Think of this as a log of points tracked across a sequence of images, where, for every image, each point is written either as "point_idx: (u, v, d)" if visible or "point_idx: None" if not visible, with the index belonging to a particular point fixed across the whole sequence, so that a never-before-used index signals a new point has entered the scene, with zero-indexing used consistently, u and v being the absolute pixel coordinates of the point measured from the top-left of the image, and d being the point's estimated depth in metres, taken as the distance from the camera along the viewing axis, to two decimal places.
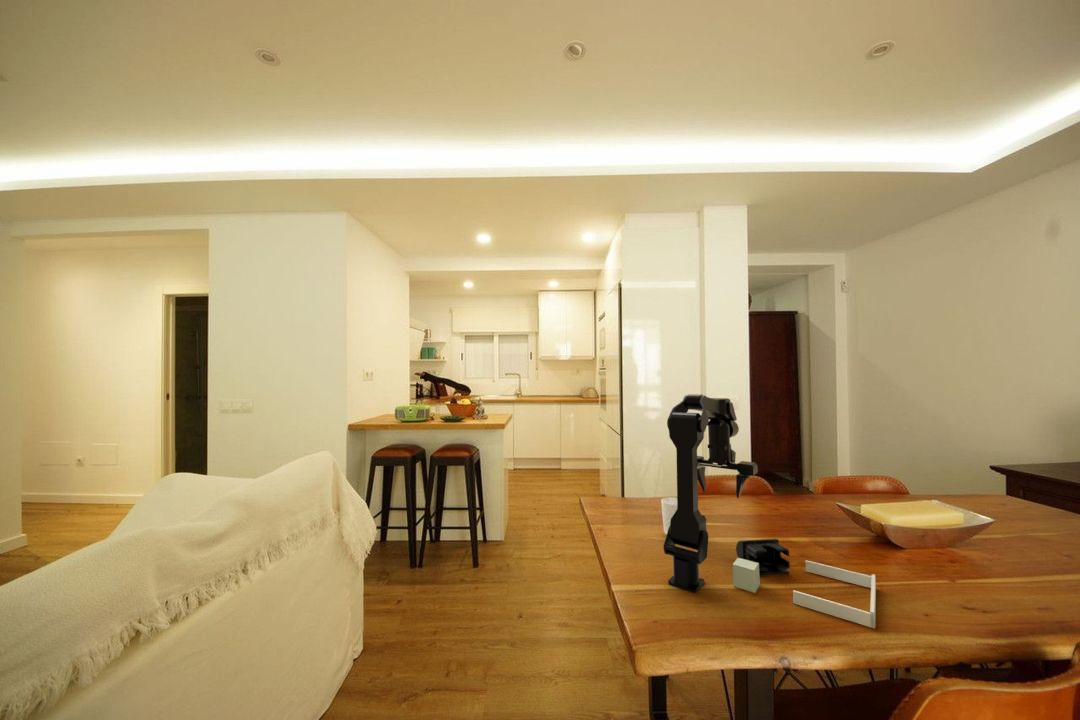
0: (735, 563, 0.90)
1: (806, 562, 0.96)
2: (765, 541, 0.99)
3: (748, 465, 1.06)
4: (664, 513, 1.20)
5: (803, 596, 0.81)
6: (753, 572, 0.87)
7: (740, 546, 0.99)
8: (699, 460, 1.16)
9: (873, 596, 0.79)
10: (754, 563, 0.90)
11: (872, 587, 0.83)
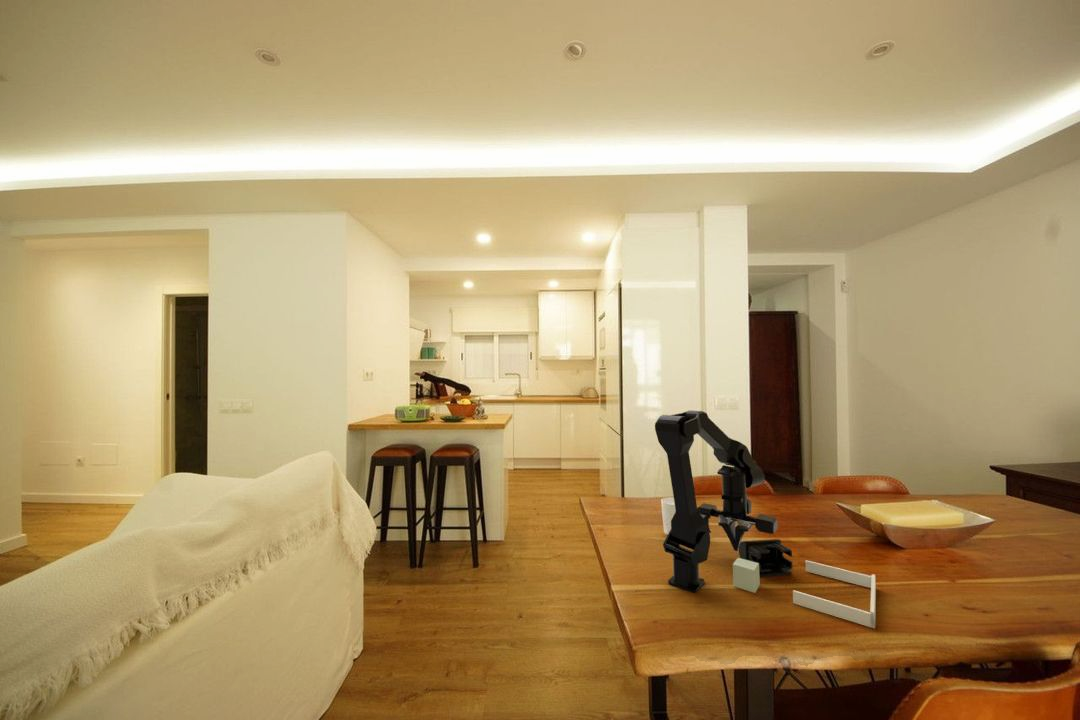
0: (735, 563, 0.90)
1: (806, 562, 0.96)
2: (767, 541, 0.98)
3: (768, 521, 0.96)
4: (664, 513, 1.20)
5: (803, 596, 0.81)
6: (753, 572, 0.87)
7: (742, 547, 0.99)
8: (712, 511, 1.06)
9: (873, 596, 0.79)
10: (754, 563, 0.90)
11: (872, 587, 0.83)
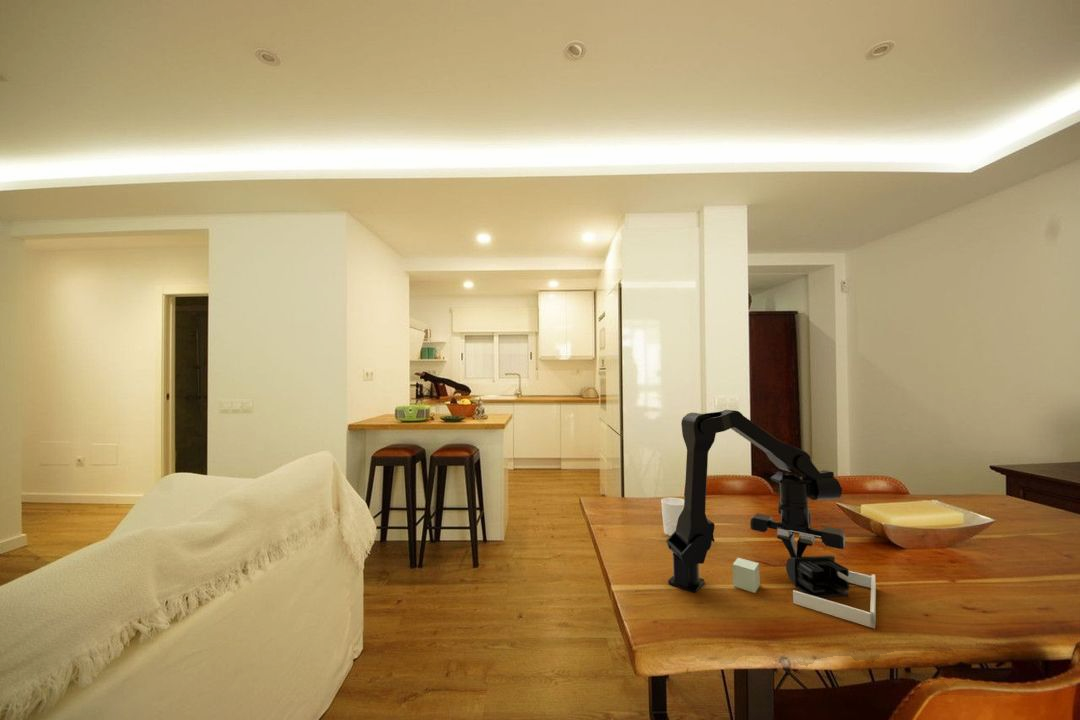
0: (735, 563, 0.90)
1: None
2: (819, 558, 0.89)
3: (836, 535, 0.87)
4: (664, 513, 1.20)
5: (803, 596, 0.81)
6: (753, 572, 0.87)
7: (791, 563, 0.89)
8: (768, 522, 0.97)
9: (873, 596, 0.79)
10: (754, 563, 0.90)
11: (872, 587, 0.83)
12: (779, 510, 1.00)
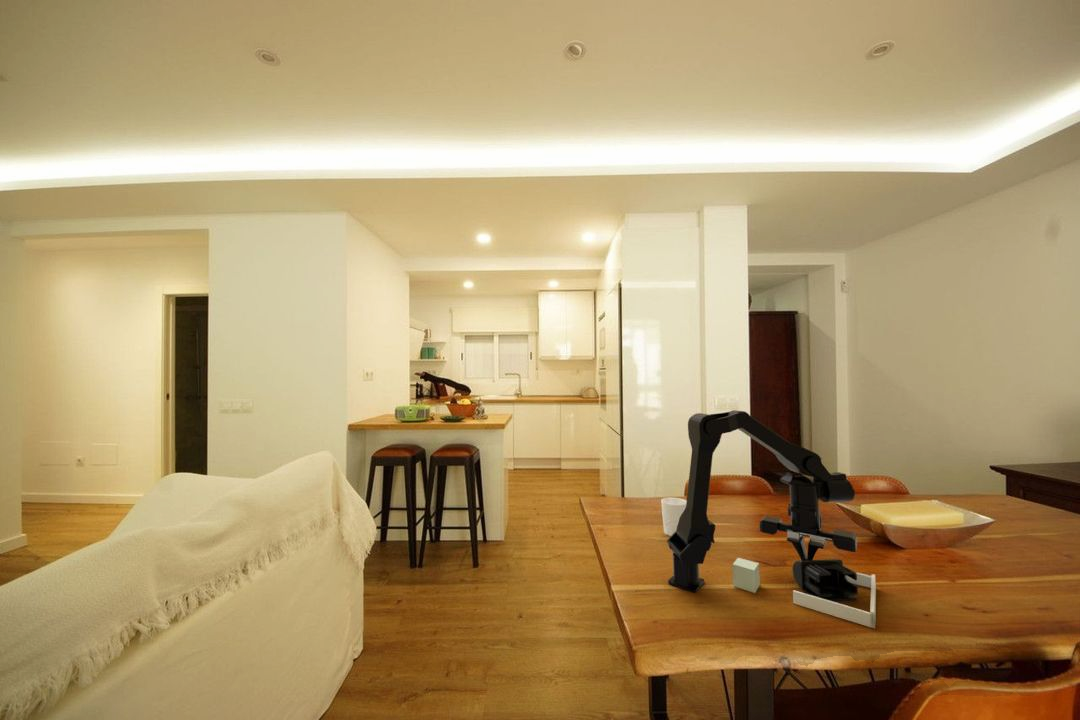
0: (735, 563, 0.90)
1: None
2: (827, 562, 0.87)
3: (848, 538, 0.85)
4: (664, 513, 1.20)
5: (803, 596, 0.81)
6: (753, 572, 0.87)
7: (797, 567, 0.88)
8: (778, 524, 0.95)
9: (873, 596, 0.79)
10: (754, 563, 0.90)
11: (872, 587, 0.83)
12: (789, 512, 0.99)
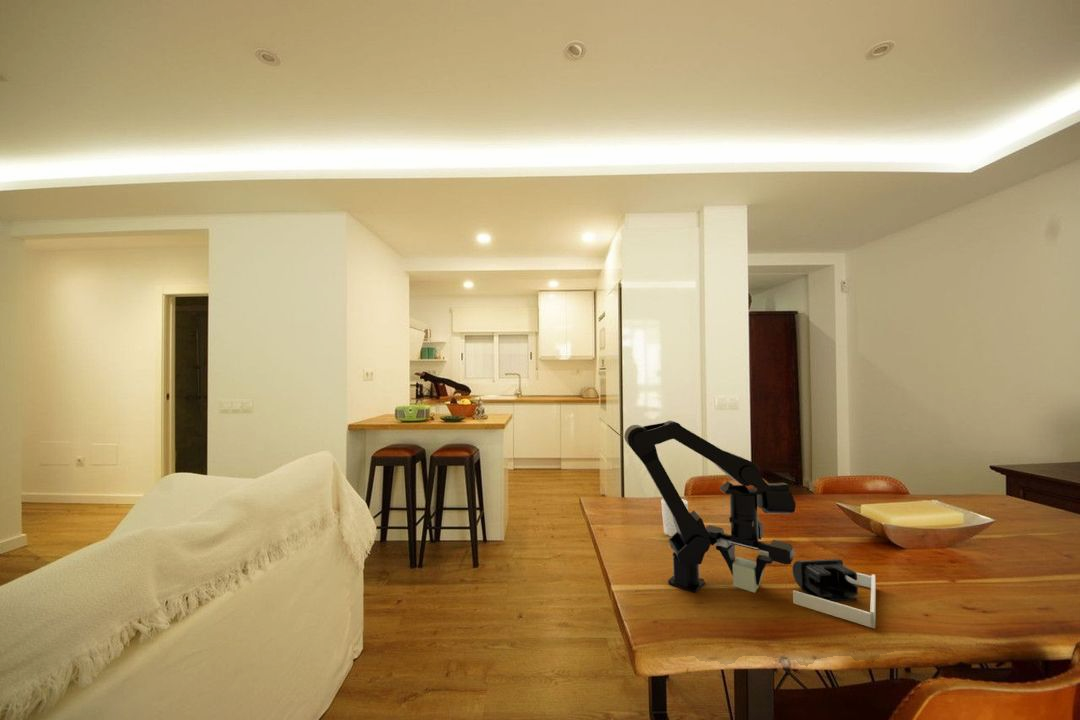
0: (735, 563, 0.90)
1: None
2: (827, 562, 0.87)
3: (783, 550, 0.83)
4: (664, 513, 1.20)
5: (803, 596, 0.81)
6: (753, 572, 0.87)
7: (797, 567, 0.88)
8: (718, 535, 0.93)
9: (873, 596, 0.79)
10: (754, 563, 0.90)
11: (872, 587, 0.83)
12: None
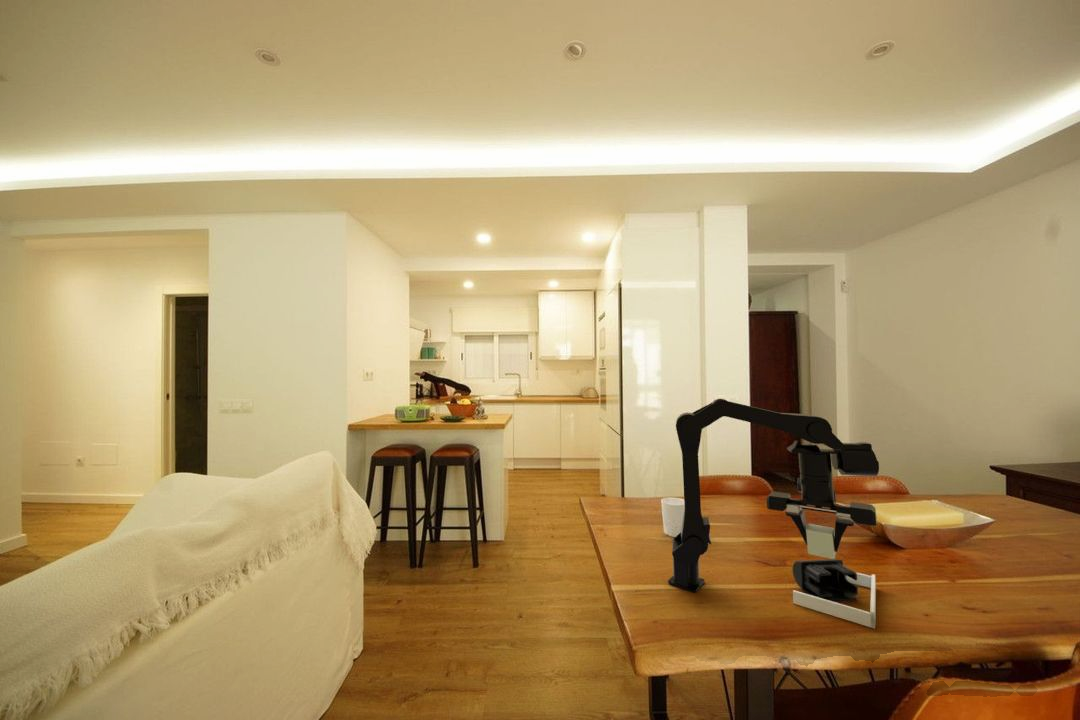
0: (808, 528, 0.83)
1: None
2: (827, 562, 0.87)
3: (867, 510, 0.76)
4: (664, 513, 1.20)
5: (803, 596, 0.81)
6: (831, 536, 0.80)
7: (797, 567, 0.88)
8: (787, 500, 0.86)
9: (873, 596, 0.79)
10: (829, 528, 0.83)
11: (872, 587, 0.83)
12: (798, 487, 0.89)
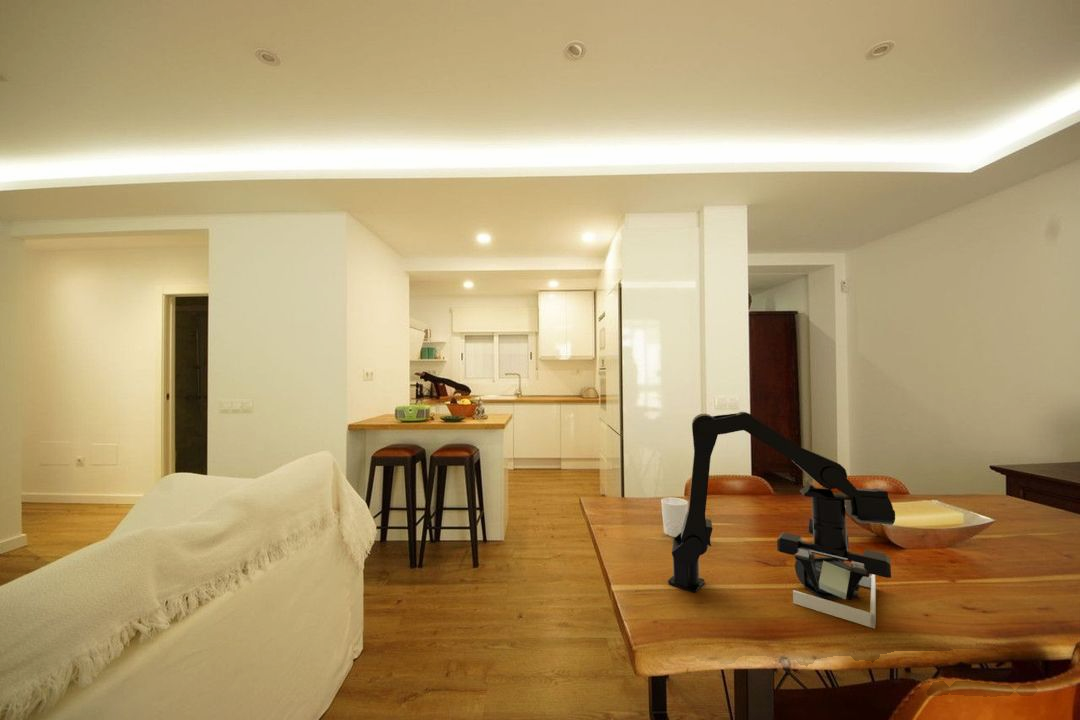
0: (822, 578, 0.80)
1: None
2: (829, 559, 0.89)
3: (882, 561, 0.74)
4: (664, 513, 1.20)
5: (803, 596, 0.81)
6: (845, 593, 0.77)
7: (799, 564, 0.89)
8: (798, 543, 0.84)
9: (873, 596, 0.79)
10: (845, 573, 0.78)
11: (872, 587, 0.83)
12: (810, 529, 0.87)
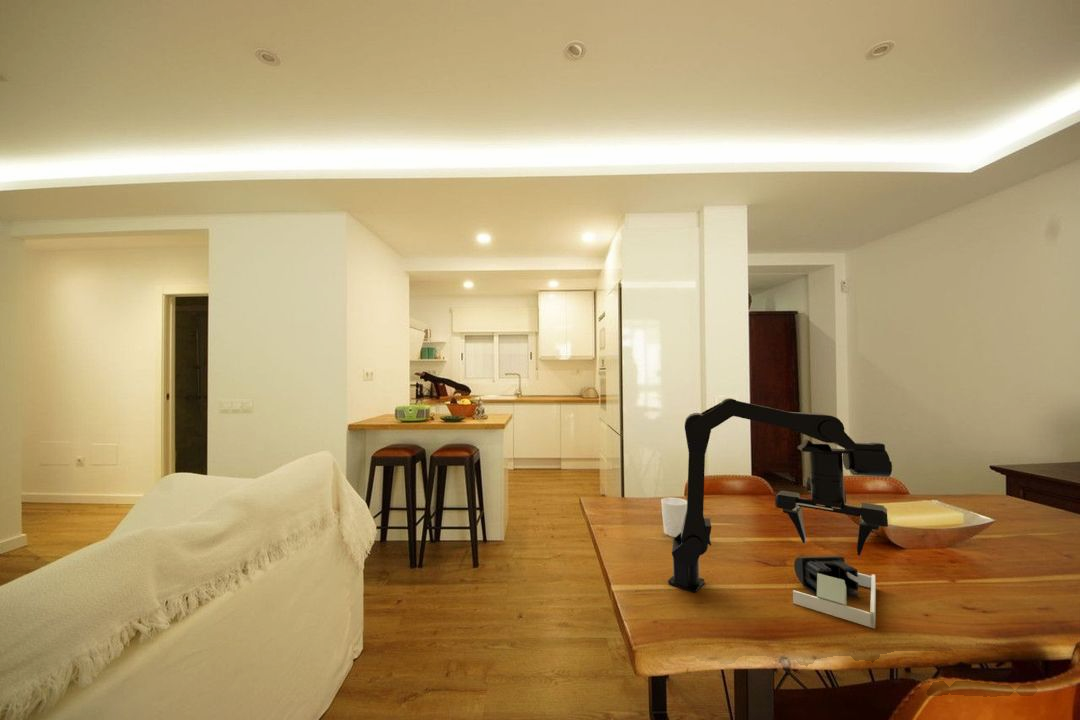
0: (819, 591, 0.80)
1: None
2: (828, 558, 0.89)
3: (879, 511, 0.75)
4: (664, 513, 1.20)
5: (803, 596, 0.81)
6: (843, 604, 0.77)
7: (798, 563, 0.90)
8: (796, 499, 0.85)
9: (873, 596, 0.79)
10: (839, 582, 0.79)
11: (872, 587, 0.83)
12: (807, 486, 0.88)
